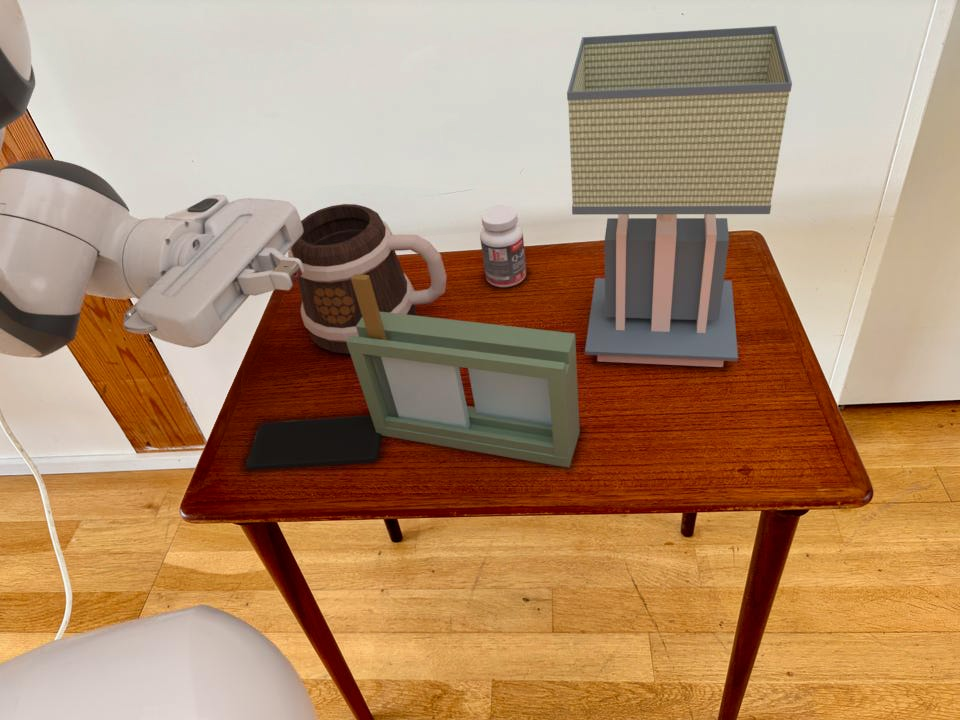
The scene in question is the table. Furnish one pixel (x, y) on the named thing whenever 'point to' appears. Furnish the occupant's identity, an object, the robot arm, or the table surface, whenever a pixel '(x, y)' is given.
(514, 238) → the pill bottle
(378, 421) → the window frame
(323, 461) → the smartphone
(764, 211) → the desk lamp
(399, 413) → the window pane
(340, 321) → the mug
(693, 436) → the table surface
